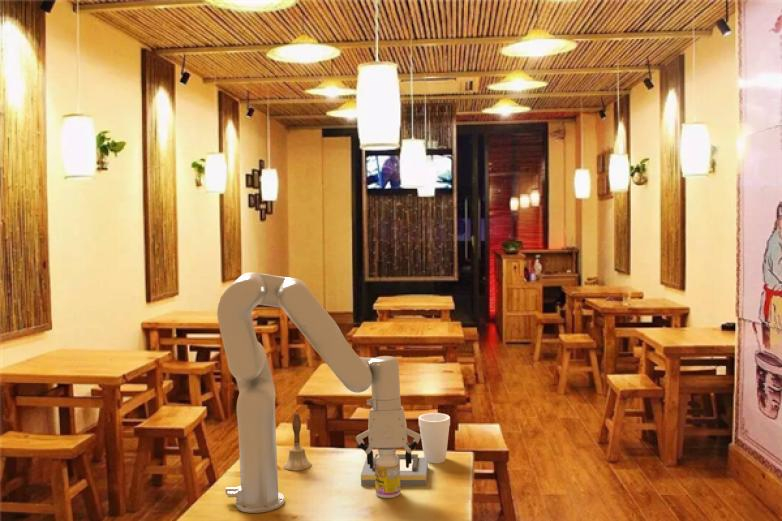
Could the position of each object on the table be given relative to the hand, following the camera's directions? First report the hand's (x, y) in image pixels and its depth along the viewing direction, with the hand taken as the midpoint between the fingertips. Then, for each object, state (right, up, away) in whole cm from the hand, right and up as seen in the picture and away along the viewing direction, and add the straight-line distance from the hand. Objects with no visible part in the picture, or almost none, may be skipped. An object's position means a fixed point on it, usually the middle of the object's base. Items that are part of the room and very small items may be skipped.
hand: (389, 466), depth 193 cm
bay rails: (+2, -3, +15) cm, 15 cm away
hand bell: (-28, -7, +24) cm, 37 cm away
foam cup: (+14, -6, +26) cm, 30 cm away
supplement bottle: (0, -8, 0) cm, 8 cm away
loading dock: (+2, -7, +13) cm, 15 cm away
